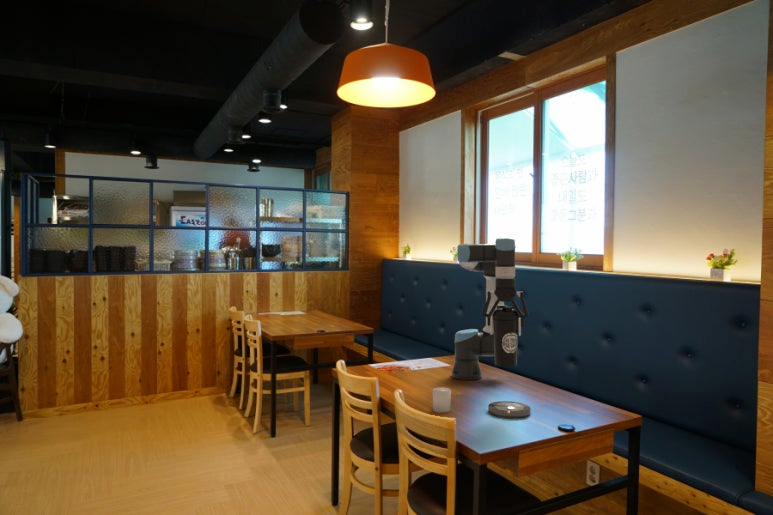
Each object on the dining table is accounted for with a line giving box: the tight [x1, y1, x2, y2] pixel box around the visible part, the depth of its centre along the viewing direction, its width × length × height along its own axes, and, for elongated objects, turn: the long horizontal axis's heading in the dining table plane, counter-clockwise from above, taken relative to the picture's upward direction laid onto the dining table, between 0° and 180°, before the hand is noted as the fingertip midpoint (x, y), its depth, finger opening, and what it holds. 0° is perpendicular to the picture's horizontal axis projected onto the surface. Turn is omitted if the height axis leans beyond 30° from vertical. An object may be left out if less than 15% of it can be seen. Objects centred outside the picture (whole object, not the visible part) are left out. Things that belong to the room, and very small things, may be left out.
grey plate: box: [487, 400, 532, 420], centre depth 201 cm, size 16×16×2 cm
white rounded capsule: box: [432, 386, 452, 414], centre depth 205 cm, size 7×7×8 cm
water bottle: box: [492, 304, 520, 368], centre depth 202 cm, size 10×10×23 cm
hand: (505, 334), depth 202 cm, fingers closed on water bottle, 10 cm apart
